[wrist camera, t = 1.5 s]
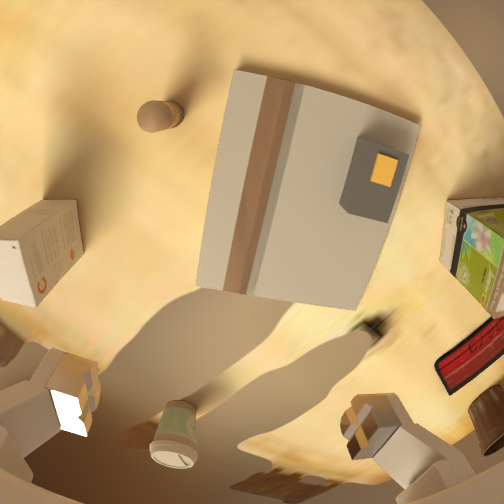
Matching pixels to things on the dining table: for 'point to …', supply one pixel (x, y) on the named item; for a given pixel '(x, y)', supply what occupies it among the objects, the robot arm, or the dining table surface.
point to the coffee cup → (176, 436)
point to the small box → (38, 250)
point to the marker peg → (159, 116)
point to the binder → (471, 355)
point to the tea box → (476, 249)
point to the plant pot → (489, 419)
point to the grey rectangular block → (373, 180)
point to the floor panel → (293, 194)
